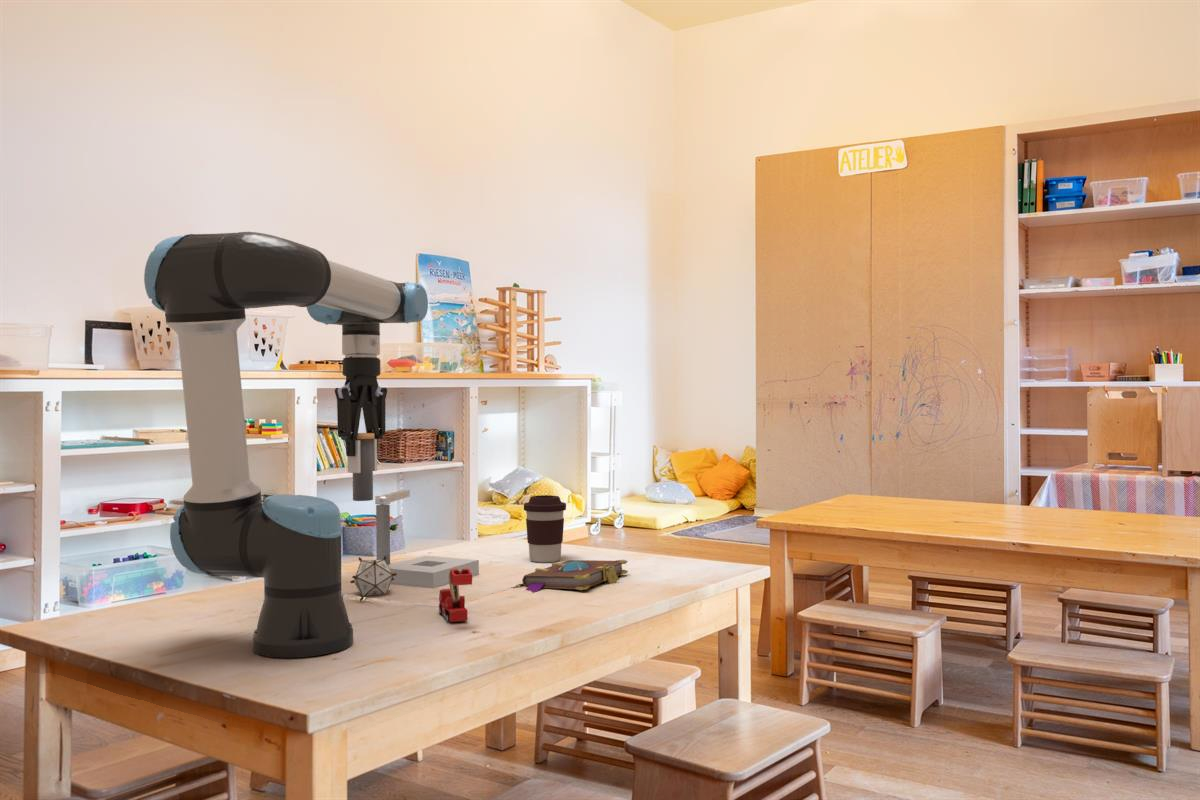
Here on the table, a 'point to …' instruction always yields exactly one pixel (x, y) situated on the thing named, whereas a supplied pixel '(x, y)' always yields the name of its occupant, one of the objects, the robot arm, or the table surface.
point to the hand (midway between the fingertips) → (362, 471)
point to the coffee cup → (545, 527)
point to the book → (574, 575)
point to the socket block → (429, 570)
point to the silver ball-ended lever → (392, 497)
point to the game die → (373, 577)
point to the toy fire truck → (454, 596)
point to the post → (383, 532)
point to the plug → (364, 469)
